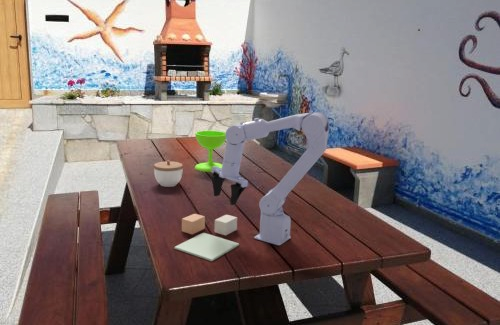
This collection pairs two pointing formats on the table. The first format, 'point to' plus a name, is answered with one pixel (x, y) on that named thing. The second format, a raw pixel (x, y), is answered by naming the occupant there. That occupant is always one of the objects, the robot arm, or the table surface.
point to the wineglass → (209, 147)
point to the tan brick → (193, 223)
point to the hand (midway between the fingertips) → (224, 199)
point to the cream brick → (225, 224)
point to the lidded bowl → (168, 173)
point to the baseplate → (207, 246)
